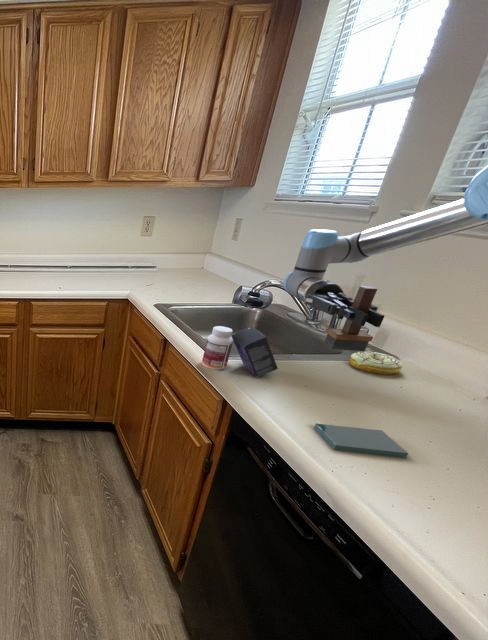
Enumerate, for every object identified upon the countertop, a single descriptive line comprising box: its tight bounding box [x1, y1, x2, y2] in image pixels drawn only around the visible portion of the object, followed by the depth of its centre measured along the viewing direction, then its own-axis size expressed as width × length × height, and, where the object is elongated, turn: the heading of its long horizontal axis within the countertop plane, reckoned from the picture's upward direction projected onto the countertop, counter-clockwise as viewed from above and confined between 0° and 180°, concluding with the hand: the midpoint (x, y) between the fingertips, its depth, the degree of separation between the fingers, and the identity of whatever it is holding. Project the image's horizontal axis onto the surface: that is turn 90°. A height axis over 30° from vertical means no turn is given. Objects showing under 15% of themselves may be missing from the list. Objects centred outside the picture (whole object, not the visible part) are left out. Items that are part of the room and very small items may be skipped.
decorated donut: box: [349, 351, 403, 376], centre depth 115 cm, size 10×11×4 cm
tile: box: [313, 423, 409, 459], centre depth 83 cm, size 12×8×2 cm, turn 78°
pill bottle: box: [201, 325, 234, 370], centre depth 114 cm, size 6×6×11 cm
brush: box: [323, 285, 378, 352], centre depth 100 cm, size 8×5×15 cm, turn 78°
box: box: [231, 325, 279, 378], centre depth 110 cm, size 8×6×11 cm
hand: (372, 320), depth 94 cm, fingers closed on brush, 2 cm apart
